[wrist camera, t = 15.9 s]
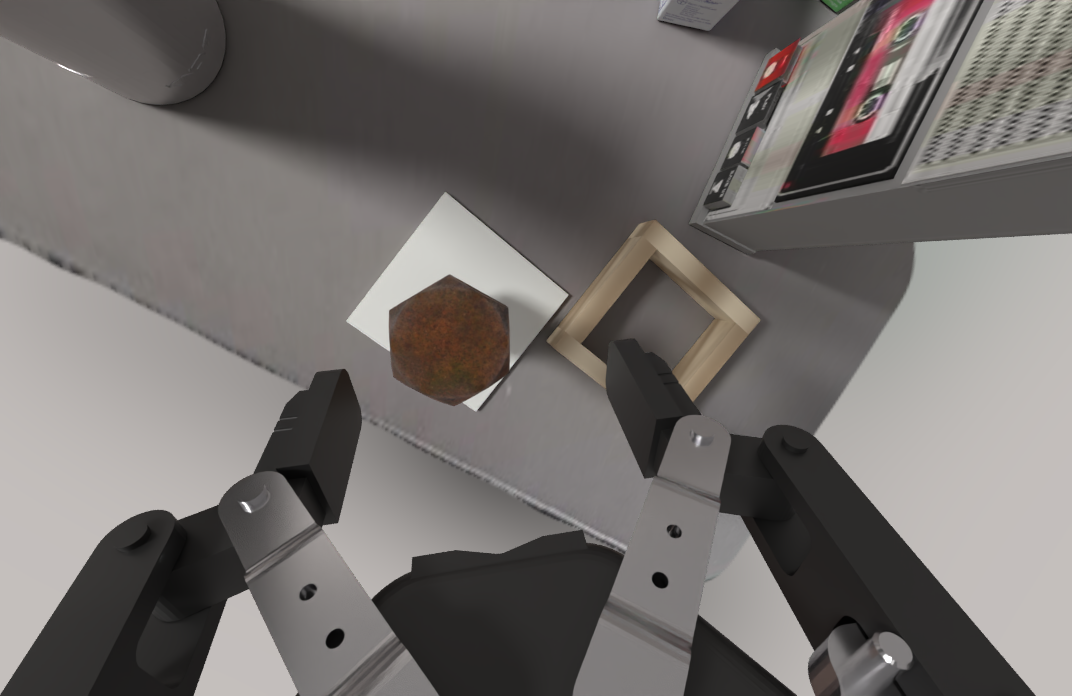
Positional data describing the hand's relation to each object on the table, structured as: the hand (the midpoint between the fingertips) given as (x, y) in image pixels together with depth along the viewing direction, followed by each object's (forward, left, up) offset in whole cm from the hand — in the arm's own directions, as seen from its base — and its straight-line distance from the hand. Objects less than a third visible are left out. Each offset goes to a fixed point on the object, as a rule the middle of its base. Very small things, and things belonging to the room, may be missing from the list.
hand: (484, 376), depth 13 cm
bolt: (-1, -1, -20) cm, 20 cm away
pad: (-1, 0, -21) cm, 21 cm away
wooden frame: (+12, +8, -21) cm, 25 cm away
